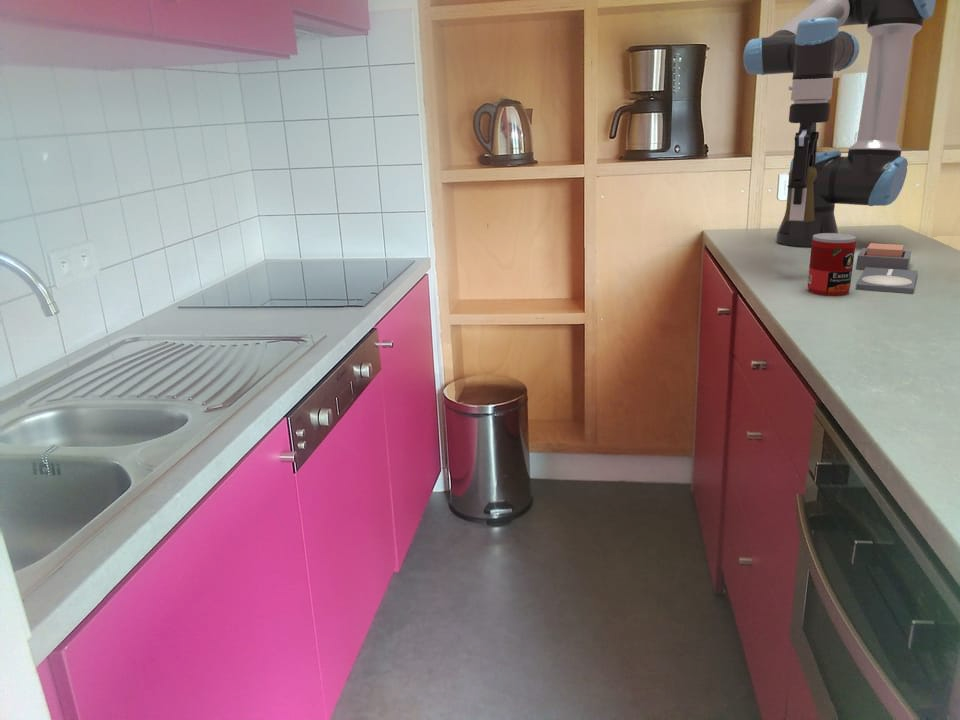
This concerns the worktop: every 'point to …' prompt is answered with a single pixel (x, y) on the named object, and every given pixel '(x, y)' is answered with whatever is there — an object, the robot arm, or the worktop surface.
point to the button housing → (883, 261)
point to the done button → (885, 250)
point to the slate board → (887, 280)
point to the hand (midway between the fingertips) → (799, 217)
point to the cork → (809, 197)
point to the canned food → (831, 263)
